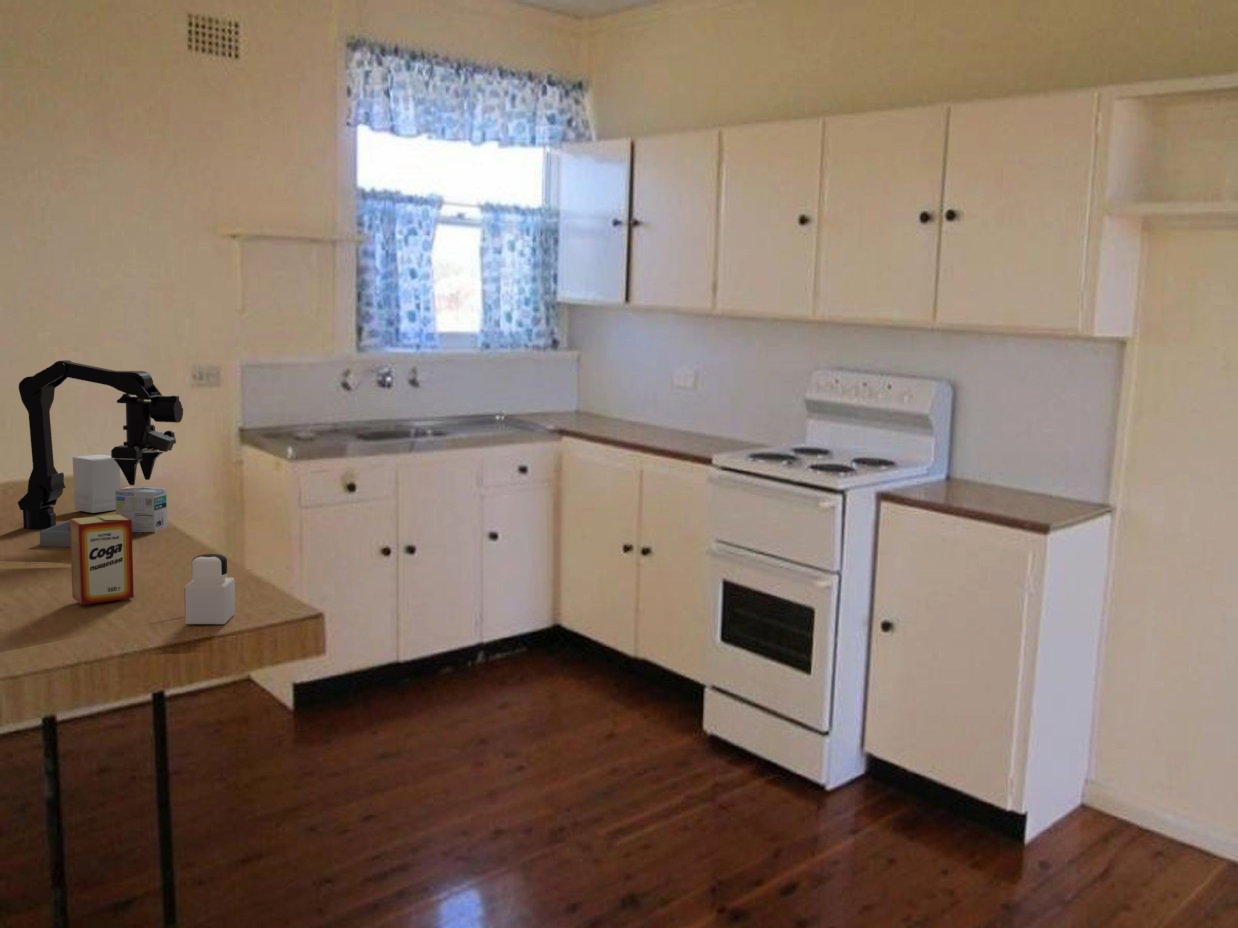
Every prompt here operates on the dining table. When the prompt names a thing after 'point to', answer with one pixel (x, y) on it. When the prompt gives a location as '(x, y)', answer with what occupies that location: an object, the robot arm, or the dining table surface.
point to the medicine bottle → (209, 591)
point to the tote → (58, 535)
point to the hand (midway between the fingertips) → (139, 482)
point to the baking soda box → (101, 558)
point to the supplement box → (95, 483)
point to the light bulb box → (143, 507)
